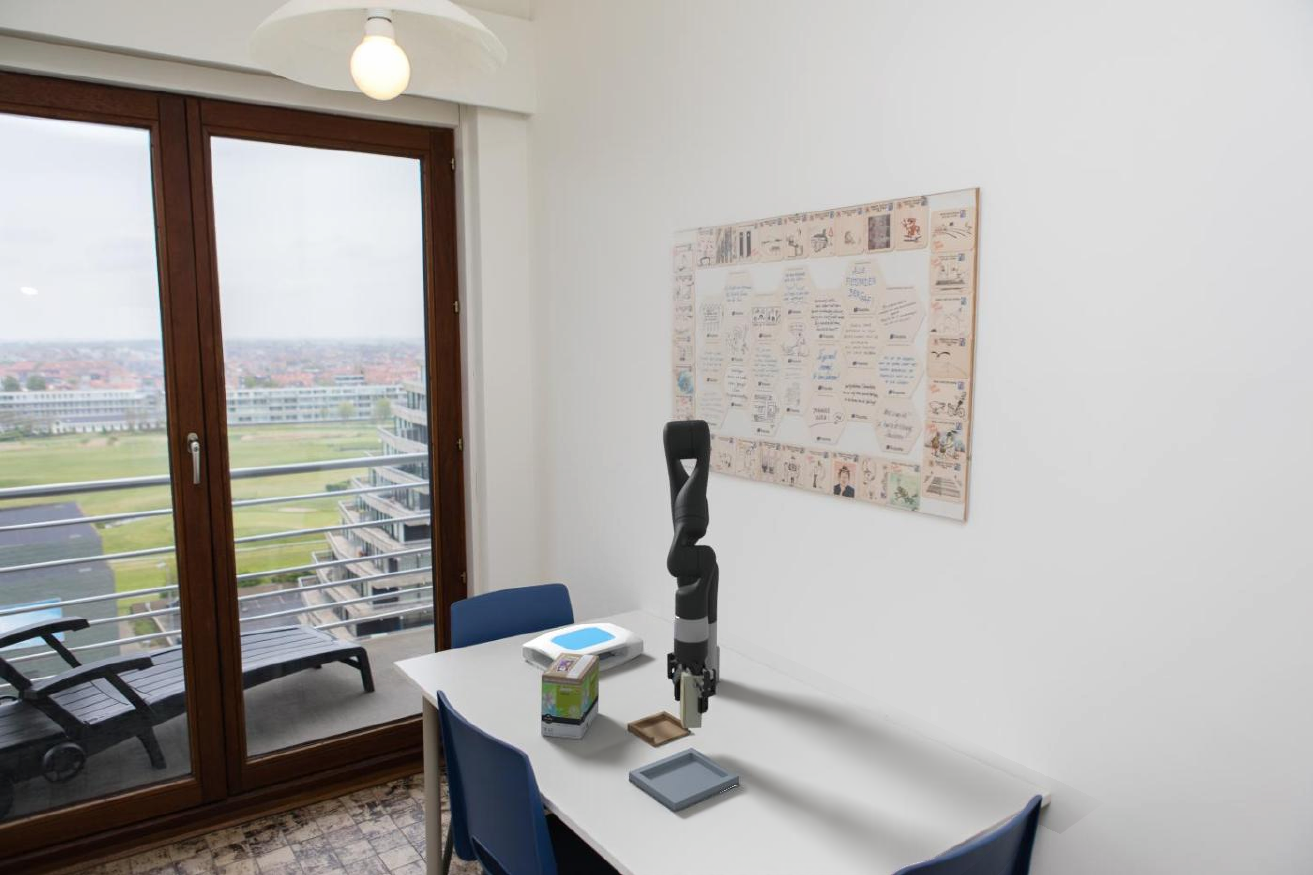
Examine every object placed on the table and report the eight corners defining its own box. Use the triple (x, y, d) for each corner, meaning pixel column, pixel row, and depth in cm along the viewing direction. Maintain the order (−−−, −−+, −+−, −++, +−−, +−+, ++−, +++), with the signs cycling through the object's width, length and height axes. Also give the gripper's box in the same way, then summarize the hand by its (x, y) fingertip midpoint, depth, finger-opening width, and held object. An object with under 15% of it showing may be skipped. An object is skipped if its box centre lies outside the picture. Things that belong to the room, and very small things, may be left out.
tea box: (582, 740, 192) (581, 678, 190) (540, 736, 194) (539, 674, 192) (599, 712, 207) (599, 654, 205) (560, 708, 209) (559, 650, 207)
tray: (691, 756, 185) (691, 747, 185) (739, 784, 173) (739, 775, 173) (628, 781, 175) (628, 771, 174) (674, 813, 163) (674, 803, 163)
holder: (664, 717, 204) (664, 711, 204) (691, 733, 196) (691, 726, 196) (627, 730, 197) (627, 723, 197) (653, 746, 189) (653, 739, 189)
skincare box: (679, 716, 190) (679, 664, 189) (698, 715, 191) (699, 663, 189) (682, 729, 184) (682, 675, 183) (702, 728, 185) (703, 675, 183)
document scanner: (521, 660, 240) (521, 639, 240) (600, 637, 259) (599, 618, 258) (564, 683, 225) (564, 660, 224) (644, 657, 243) (644, 636, 242)
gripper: (726, 640, 182) (725, 712, 184) (683, 621, 193) (683, 690, 195) (699, 648, 177) (699, 722, 179) (657, 629, 188) (657, 699, 190)
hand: (690, 705), depth 187 cm, fingers closed on skincare box, 7 cm apart
